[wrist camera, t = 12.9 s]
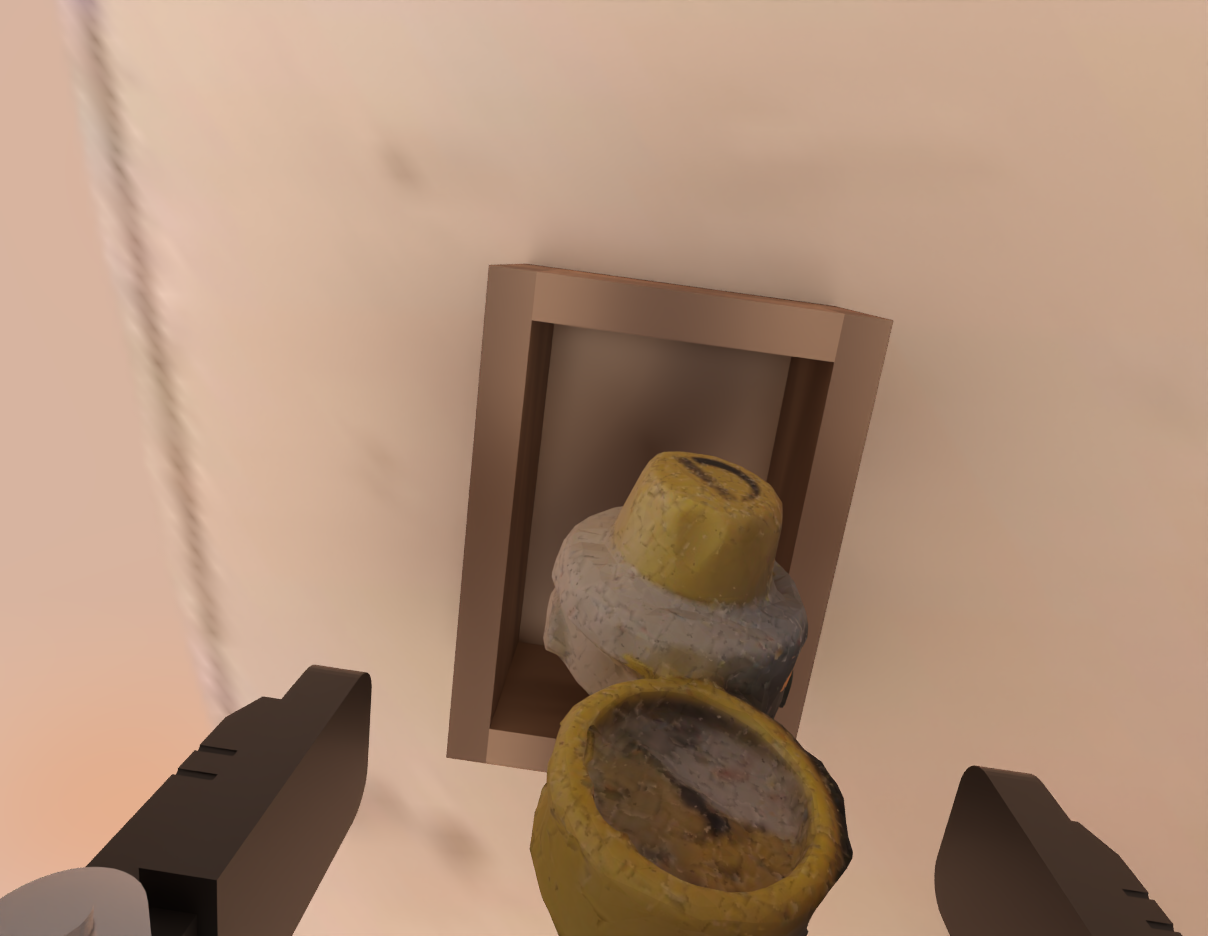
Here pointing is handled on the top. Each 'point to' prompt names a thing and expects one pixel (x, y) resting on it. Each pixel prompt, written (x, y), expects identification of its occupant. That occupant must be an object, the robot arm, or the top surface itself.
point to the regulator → (682, 720)
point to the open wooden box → (638, 459)
